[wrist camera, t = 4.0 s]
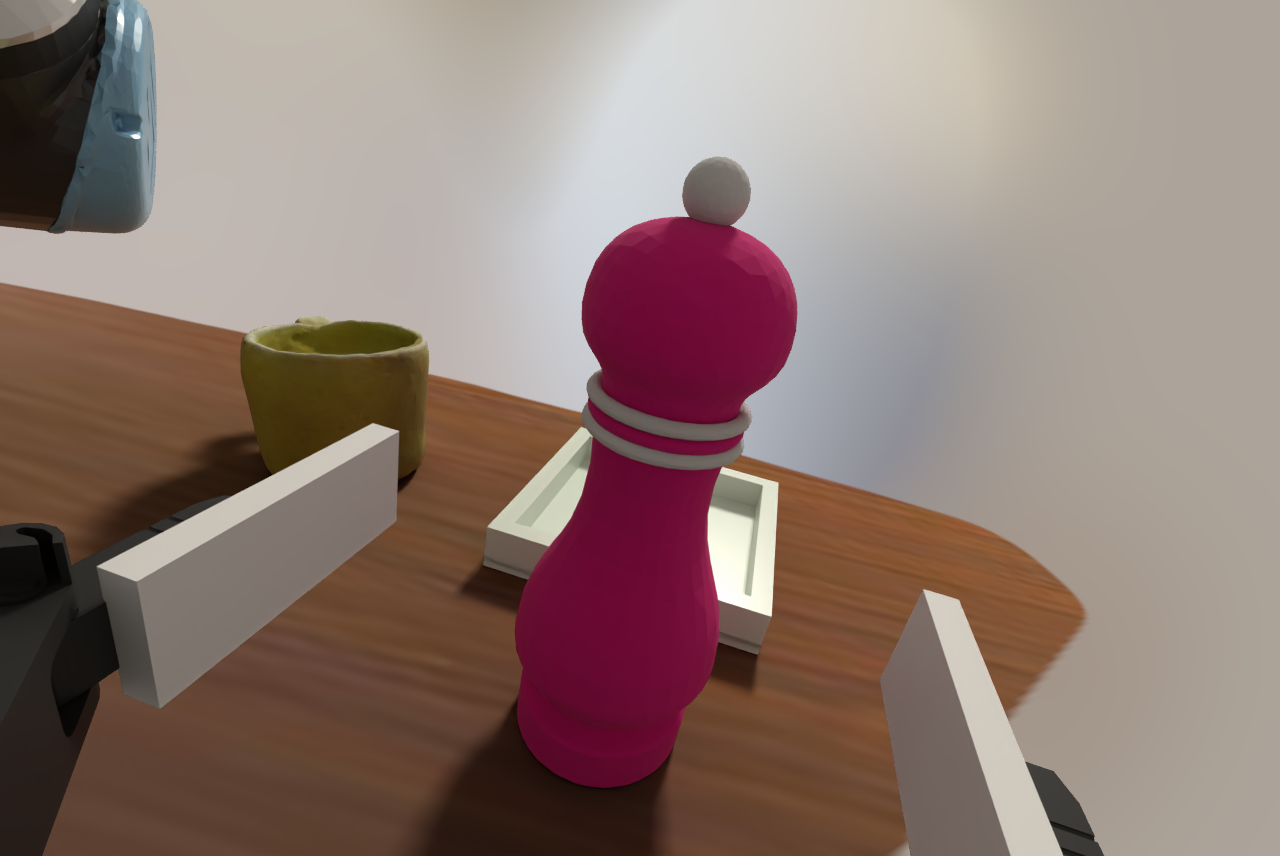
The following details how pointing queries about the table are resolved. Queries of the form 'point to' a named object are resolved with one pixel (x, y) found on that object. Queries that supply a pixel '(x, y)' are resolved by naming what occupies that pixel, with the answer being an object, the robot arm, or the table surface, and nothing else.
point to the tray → (733, 536)
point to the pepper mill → (650, 484)
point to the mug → (334, 387)
